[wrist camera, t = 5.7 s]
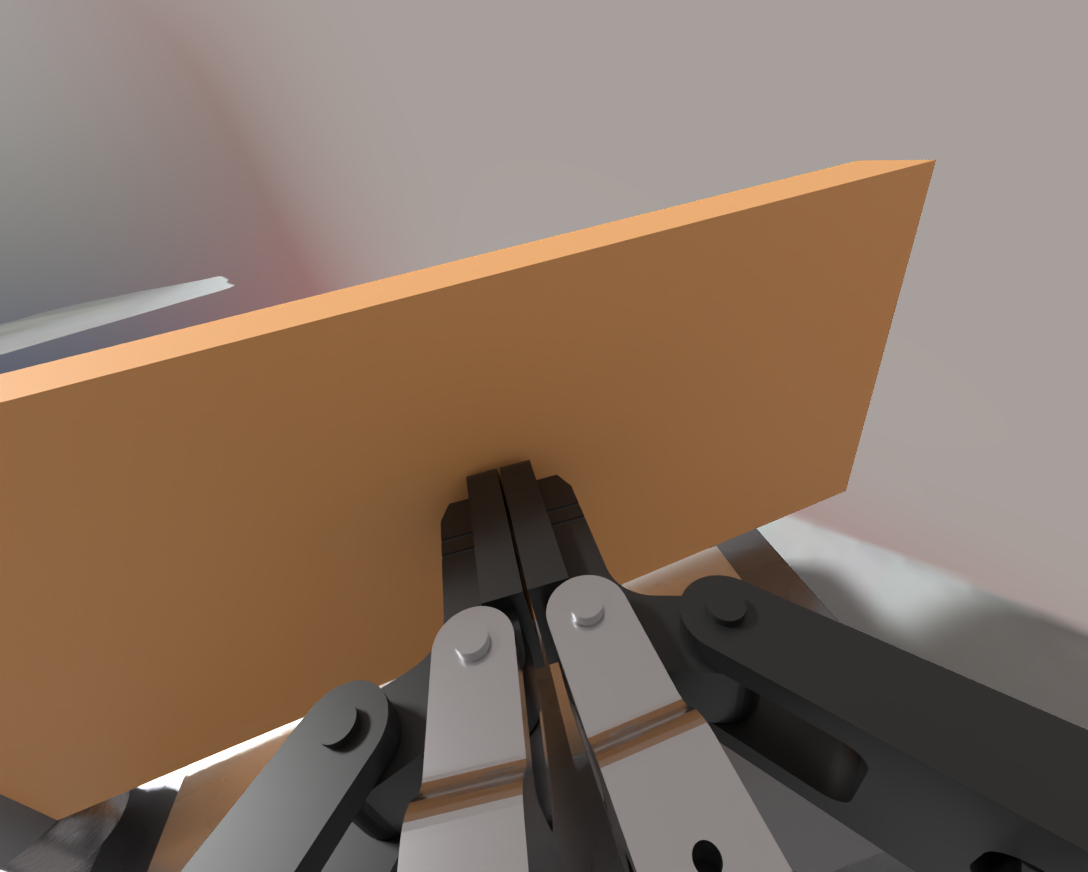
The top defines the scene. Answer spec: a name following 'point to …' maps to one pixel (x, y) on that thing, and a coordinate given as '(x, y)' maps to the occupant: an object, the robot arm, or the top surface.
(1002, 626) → the top surface
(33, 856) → the boom post
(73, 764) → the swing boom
